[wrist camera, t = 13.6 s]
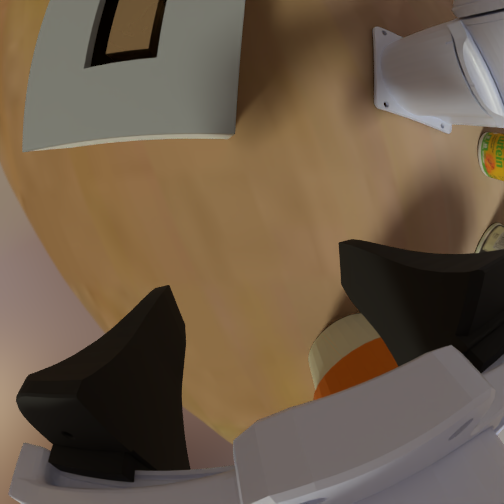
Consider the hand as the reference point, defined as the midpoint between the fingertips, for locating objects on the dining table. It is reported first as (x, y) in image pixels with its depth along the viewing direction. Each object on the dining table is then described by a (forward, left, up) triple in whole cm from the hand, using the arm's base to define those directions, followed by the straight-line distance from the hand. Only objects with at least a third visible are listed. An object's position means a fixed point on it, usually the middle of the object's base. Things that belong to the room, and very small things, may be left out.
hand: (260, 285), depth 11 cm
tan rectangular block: (+7, -13, -10) cm, 18 cm away
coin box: (+7, -13, -9) cm, 18 cm away
